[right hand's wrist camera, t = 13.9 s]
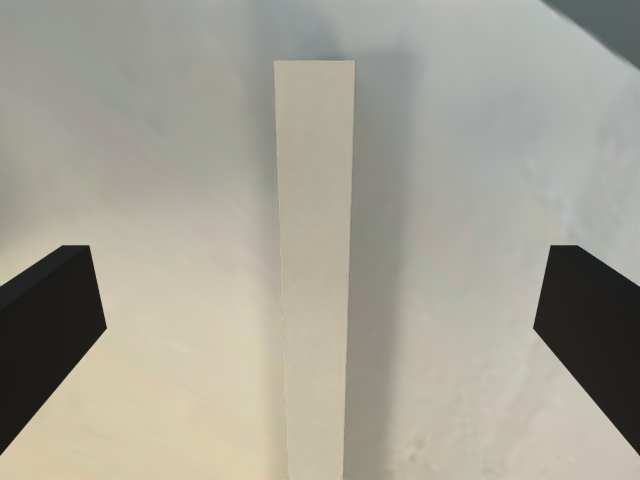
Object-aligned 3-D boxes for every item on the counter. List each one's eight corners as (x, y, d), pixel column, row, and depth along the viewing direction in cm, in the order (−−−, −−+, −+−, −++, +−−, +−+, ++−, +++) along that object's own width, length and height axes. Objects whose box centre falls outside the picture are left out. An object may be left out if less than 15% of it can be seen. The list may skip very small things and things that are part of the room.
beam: (284, 63, 33) (273, 60, 26) (348, 63, 33) (356, 60, 26) (298, 633, 61) (295, 713, 53) (333, 634, 61) (335, 713, 53)
